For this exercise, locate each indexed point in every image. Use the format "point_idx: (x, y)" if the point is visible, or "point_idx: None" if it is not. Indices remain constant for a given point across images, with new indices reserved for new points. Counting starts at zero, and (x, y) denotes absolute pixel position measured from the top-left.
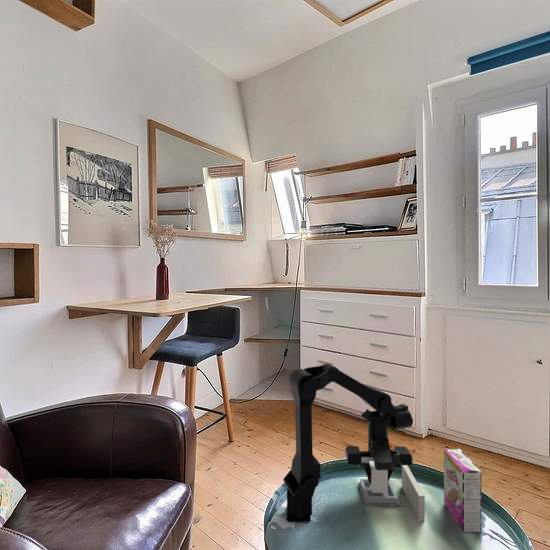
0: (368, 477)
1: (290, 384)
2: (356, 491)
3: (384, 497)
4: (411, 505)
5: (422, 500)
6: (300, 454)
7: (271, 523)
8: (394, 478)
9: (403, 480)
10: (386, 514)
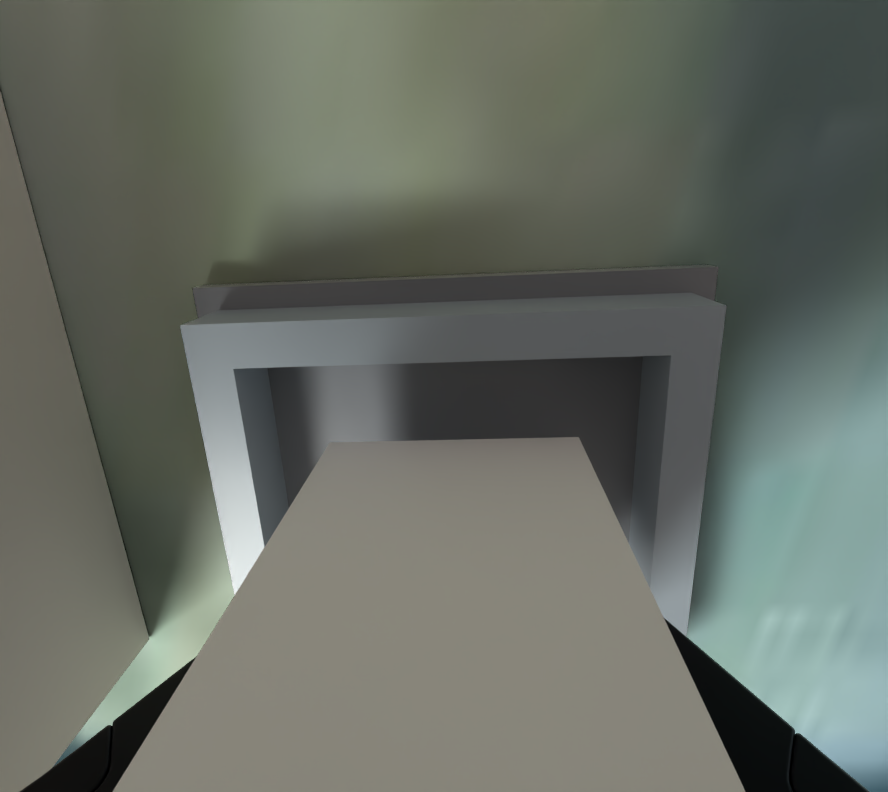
0: (701, 665)
1: None
2: (729, 544)
3: (399, 328)
4: (49, 295)
5: None
6: None
7: None
8: None
9: (51, 682)
10: (426, 76)
